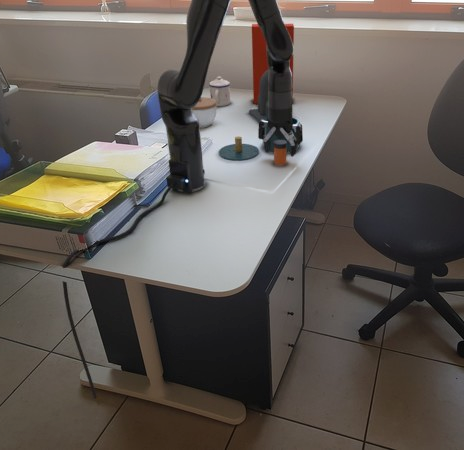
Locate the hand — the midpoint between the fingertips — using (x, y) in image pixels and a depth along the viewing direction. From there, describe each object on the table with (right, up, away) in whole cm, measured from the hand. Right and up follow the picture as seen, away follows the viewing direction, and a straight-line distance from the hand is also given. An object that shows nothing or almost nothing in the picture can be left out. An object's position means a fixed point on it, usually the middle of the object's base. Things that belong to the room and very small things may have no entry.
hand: (280, 153), depth 150 cm
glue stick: (0, -3, +1) cm, 3 cm away
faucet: (-2, +21, +41) cm, 46 cm away
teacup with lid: (-25, +30, +56) cm, 69 cm away
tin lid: (-14, +2, +8) cm, 16 cm away
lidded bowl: (-30, +17, +34) cm, 49 cm away
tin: (+1, +4, +13) cm, 14 cm away
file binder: (-2, +33, +60) cm, 68 cm away
